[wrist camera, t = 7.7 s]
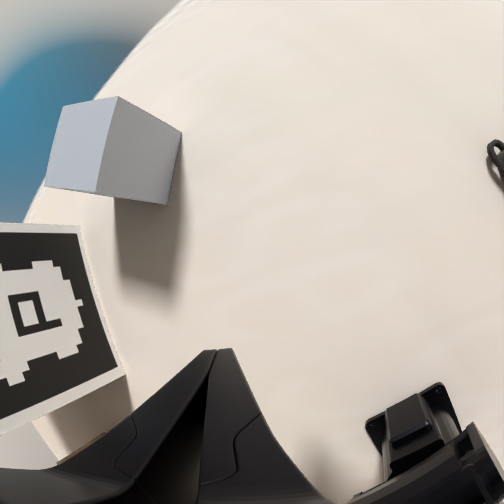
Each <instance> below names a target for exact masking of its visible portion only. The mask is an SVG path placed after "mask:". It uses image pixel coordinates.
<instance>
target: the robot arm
mask: <svg viewBox="0 0 504 504" xmlns="http://www.w3.org/2000/svg"><path fill="white" fill-rule="evenodd" d="M439 387H440V388H441V389H440V390H439V391H436V389H437V388H439ZM371 423H374V425H373V426H370V425H369V424H371ZM365 428H366V430H367V432H368V433H369V435H370V437H371V438H372V440H373V442H374V444H375V445H376V447H377V449H378V450H379V452H380V454H381V456H382V457H383V469H384V483H382V484H380V485H378V486H376V487H374V488H372V489H370V490H368V491H366V492H364V493H363V492H361V493H359V494H357V495H354V497H353V499H351V500H350V501H349V503H348V504H504V503H503V501H502V500H503V499H504V471H503V469H502V467H501V465H500V463H499V462H498V460H497V458H496V456H495V455H494V453H493V451H492V450H491V448H490V447H489V445H488V444H487V442H486V441H485V439H484V437H483V436H482V434H481V433H480V431H479V430H478V428H477V427H476V425H475V424H474V422H472V423H470V424H469V425H468V426H467V427H466V429H465V430H464V431H463V432H462V430H461V427H460V424H459V422H458V419H457V416H456V414H455V411H454V408H453V406H452V403H451V401H450V398H449V396H448V393H447V391H446V388H445V386H444V385H443V383H441V382H438V383H435V384H434V385H432V386H430V387H429V388H427V389H425V390H423V391H422V392H420V393H418V394H417V393H416V394H414V395H412V396H410V397H408V398H406V399H405V400H403V401H401V402H399V403H397V404H395V405H393V406H391V407H389V408H387V409H386V411H384V412H382V413H380V414H378V415H376V416H374V417H372V418H370V419H368V420H367V421H366V423H365ZM0 504H336V503H334V502H332V501H330V500H329V499H327V498H326V497H324V496H323V495H322V494H321V493H320V492H319V491H318V490H317V489H316V488H315V487H314V486H313V485H312V484H311V483H310V482H309V481H308V480H307V478H306V477H305V476H304V475H303V474H302V472H301V471H300V470H299V469H298V467H297V466H296V465H295V464H294V463H293V461H292V460H291V459H290V458H289V456H288V455H287V454H286V452H285V451H284V450H283V448H282V447H281V446H280V444H279V443H278V441H277V440H276V438H275V437H274V435H273V433H272V432H271V430H270V428H269V426H268V424H267V422H266V420H265V418H264V416H263V415H262V412H261V410H260V408H259V406H258V404H257V402H256V399H255V397H254V395H253V393H252V391H251V389H250V387H249V384H248V382H247V380H246V378H245V376H244V373H243V371H242V369H241V367H240V365H239V362H238V360H237V358H236V356H235V353H234V351H233V349H232V348H226V349H219V350H216V349H214V350H204V351H202V352H201V353H200V354H199V355H198V356H197V357H196V358H194V359H193V360H192V361H191V362H190V363H189V364H188V365H187V366H186V367H184V368H183V369H182V370H181V371H180V372H179V373H178V374H176V375H175V376H174V377H173V378H172V379H171V380H170V381H169V382H167V383H166V384H165V385H164V386H163V387H162V388H161V389H159V390H158V391H157V392H156V393H155V394H154V395H152V396H151V397H150V398H149V399H148V400H147V401H145V402H144V403H143V404H142V405H141V406H140V407H138V408H137V409H136V410H135V411H134V412H133V413H131V415H129V416H128V417H127V418H125V419H124V420H123V421H122V422H121V423H119V424H118V425H117V426H115V427H114V428H113V429H112V430H110V431H109V432H108V433H106V434H105V435H104V436H102V437H101V438H99V439H98V440H96V441H95V442H94V443H92V444H90V445H89V446H87V447H86V448H84V449H83V450H81V451H80V452H78V453H77V454H75V455H73V456H72V457H70V458H69V459H67V460H65V461H64V462H62V463H60V464H59V465H57V466H54V467H52V468H48V469H42V470H25V469H9V468H0Z"/></svg>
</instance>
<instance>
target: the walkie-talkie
mask: <svg viewBox="0 0 504 504" xmlns="http://www.w3.org/2000/svg"><path fill="white" fill-rule="evenodd" d="M494 146H496V147H497V148H499V149H500V150H501V151H500V152H499V154H498V155H496V153H495V151H494ZM487 153H488V155H489V157H490V158H491V160H492V162H493V163H494V164H495V165H496V166H497V168H498V170H500V171H501V173H502V175H504V143H503V142H501V141H500V140H496V139H495V140H493V141H492V142H490V143H489V144H488V146H487Z"/></svg>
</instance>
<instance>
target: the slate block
mask: <svg viewBox="0 0 504 504" xmlns="http://www.w3.org/2000/svg"><path fill="white" fill-rule="evenodd" d="M181 134H182V132H180V131H179V130H177V129H175V128H173V127H172V126H170V125H168V124H167V123H165V122H163V121H161V120H160V119H158V118H156V117H155V116H153V115H151V114H149V113H148V112H146V111H144V110H142V109H140V108H139V107H137V106H135V105H133V104H131V103H130V102H128V101H126V100H124V99H122V98H121V97H119V96H116V97H110V98H104V99H98V100H92V101H87V102H82V103H78V104H72V105H68V106H64V107H63V109H62V112H61V116H60V119H59V123H58V126H57V131H56V134H55V138H54V142H53V146H52V150H51V154H50V159H49V164H48V168H47V173H46V178H45V184H44V186H45V187H52V188H58V189H65V190H71V191H78V192H84V193H90V194H97V195H103V196H109V197H115V198H122V199H130V200H137V201H144V202H150V203H157V204H164V205H167V203H168V197H169V192H170V186H171V181H172V176H173V171H174V166H175V162H176V157H177V152H178V148H179V143H180V139H181Z"/></svg>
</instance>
